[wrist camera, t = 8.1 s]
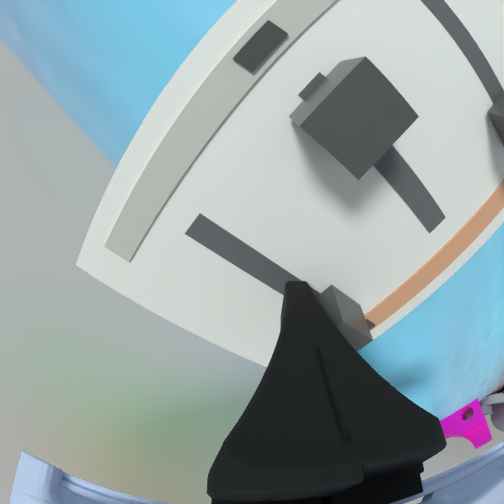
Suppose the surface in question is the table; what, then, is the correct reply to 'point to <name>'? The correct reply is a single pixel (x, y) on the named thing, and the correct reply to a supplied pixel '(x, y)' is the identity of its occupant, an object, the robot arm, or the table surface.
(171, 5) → the table surface
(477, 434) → the toy block
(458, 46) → the switch panel
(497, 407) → the ceramic mug
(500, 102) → the tab
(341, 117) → the tab
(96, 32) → the table surface
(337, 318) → the tab
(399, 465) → the robot arm
